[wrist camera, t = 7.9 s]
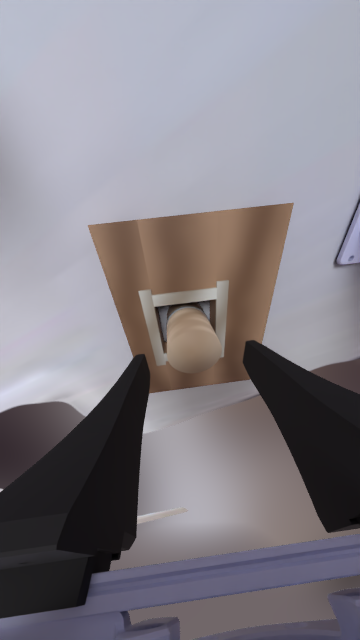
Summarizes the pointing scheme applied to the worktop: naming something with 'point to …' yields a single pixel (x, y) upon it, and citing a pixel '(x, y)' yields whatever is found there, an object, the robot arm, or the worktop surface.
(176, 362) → the peg
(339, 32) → the worktop surface
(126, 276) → the socket board
